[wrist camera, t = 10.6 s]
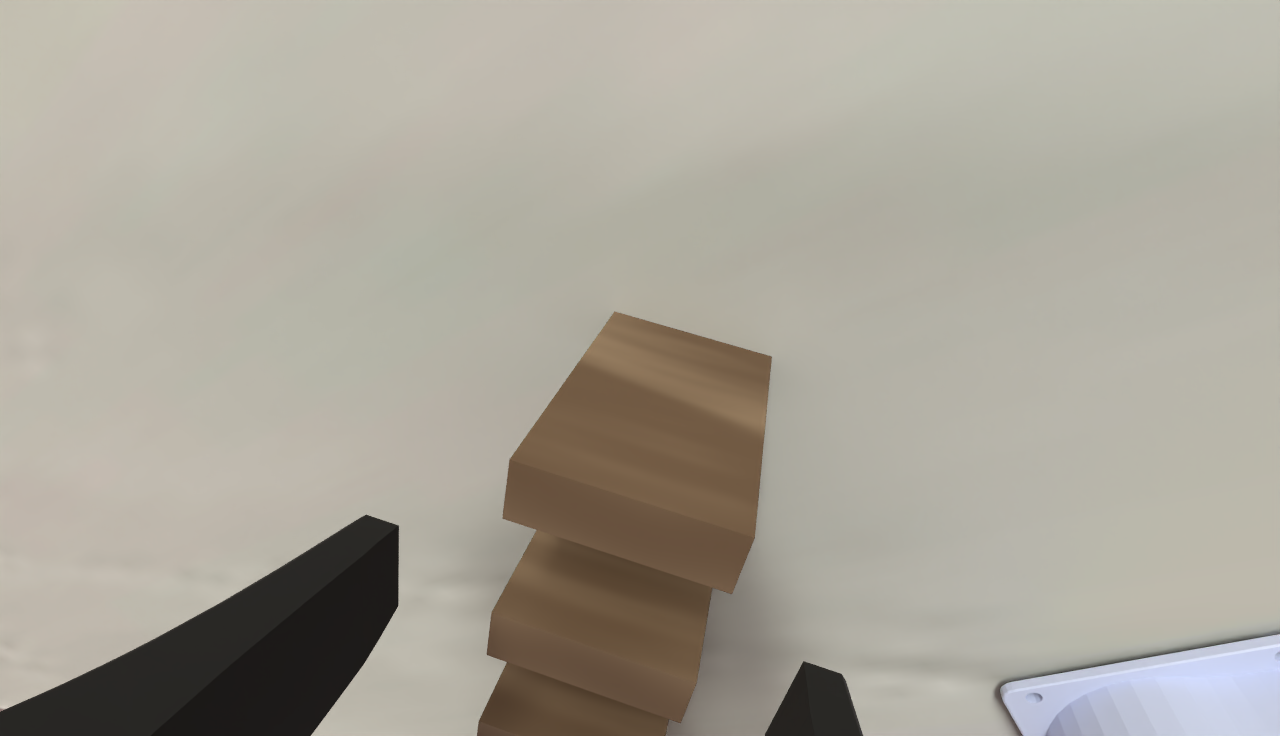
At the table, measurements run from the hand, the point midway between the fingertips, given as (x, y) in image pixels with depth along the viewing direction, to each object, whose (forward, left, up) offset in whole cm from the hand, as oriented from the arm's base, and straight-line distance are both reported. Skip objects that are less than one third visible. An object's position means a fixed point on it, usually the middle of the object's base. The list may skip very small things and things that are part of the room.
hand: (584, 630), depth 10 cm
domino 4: (+3, +3, -10) cm, 11 cm away
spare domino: (0, 0, -10) cm, 10 cm away
